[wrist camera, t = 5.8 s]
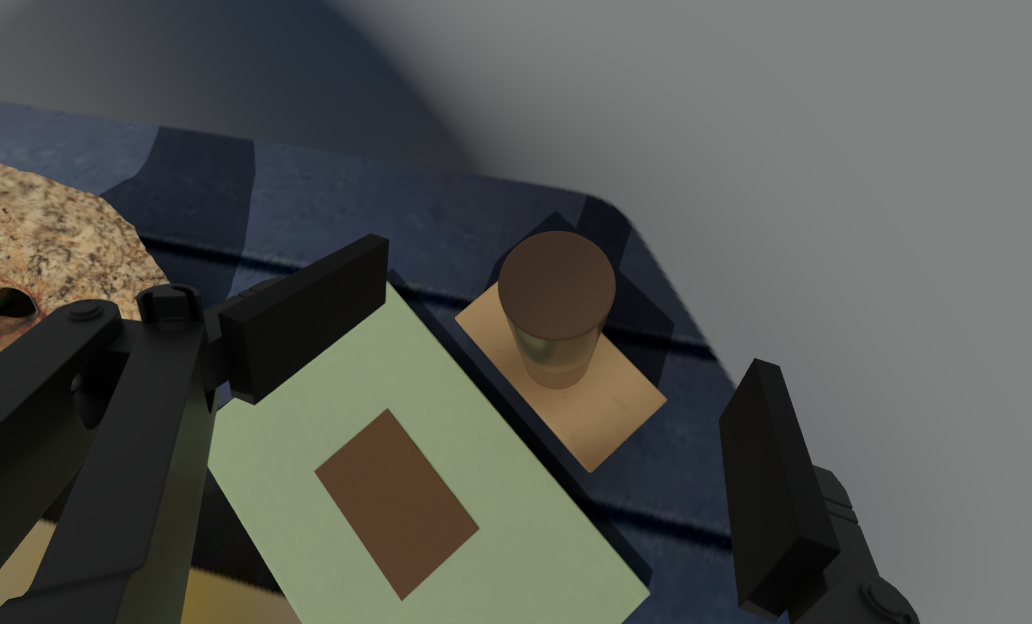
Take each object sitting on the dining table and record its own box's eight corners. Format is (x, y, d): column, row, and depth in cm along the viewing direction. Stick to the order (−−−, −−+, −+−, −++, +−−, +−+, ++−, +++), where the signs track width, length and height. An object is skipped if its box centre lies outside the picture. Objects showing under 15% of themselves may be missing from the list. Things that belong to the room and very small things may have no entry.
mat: (648, 589, 22) (651, 593, 22) (426, 815, 21) (422, 827, 20) (386, 279, 28) (382, 275, 28) (196, 434, 27) (187, 434, 26)
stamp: (653, 406, 25) (766, 357, 11) (585, 470, 24) (621, 497, 11) (530, 278, 28) (505, 119, 14) (466, 333, 27) (377, 220, 14)
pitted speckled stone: (187, 470, 32) (91, 540, 25) (-28, 410, 31) (-197, 464, 24) (249, 224, 30) (165, 218, 22) (20, 148, 29) (-151, 115, 21)
